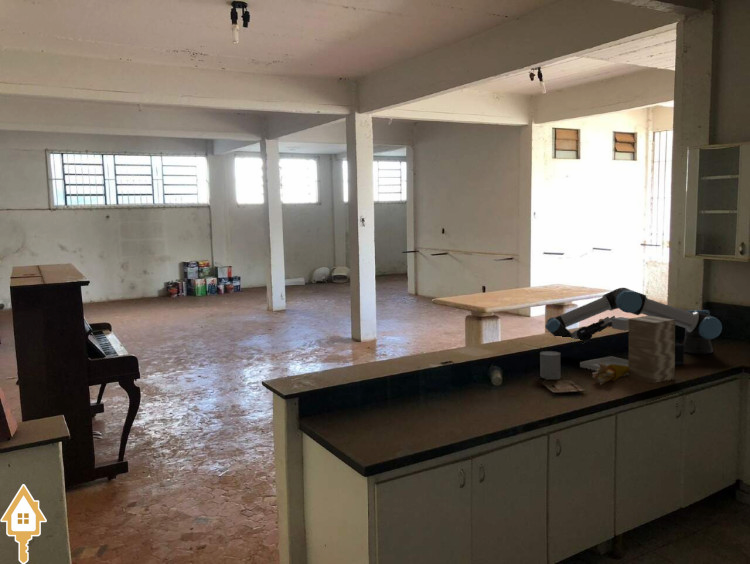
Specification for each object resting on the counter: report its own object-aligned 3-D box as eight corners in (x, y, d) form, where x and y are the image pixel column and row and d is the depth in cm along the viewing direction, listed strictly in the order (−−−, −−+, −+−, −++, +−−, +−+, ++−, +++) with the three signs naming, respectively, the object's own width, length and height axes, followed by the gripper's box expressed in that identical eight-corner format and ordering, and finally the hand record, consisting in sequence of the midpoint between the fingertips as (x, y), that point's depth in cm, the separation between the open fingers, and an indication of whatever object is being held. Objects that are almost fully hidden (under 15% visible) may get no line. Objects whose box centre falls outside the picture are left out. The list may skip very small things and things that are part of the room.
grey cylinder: (560, 381, 284) (560, 355, 283) (539, 380, 287) (539, 355, 286) (561, 376, 293) (560, 351, 292) (540, 375, 296) (540, 350, 295)
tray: (611, 360, 318) (611, 356, 318) (651, 370, 296) (651, 365, 296) (580, 366, 309) (580, 362, 308) (619, 377, 286) (619, 372, 286)
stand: (649, 372, 292) (649, 315, 290) (674, 378, 280) (675, 319, 277) (628, 376, 286) (628, 318, 283) (653, 383, 274) (654, 322, 271)
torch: (629, 383, 287) (598, 386, 272) (616, 372, 293) (585, 375, 278) (637, 369, 284) (607, 372, 269) (624, 359, 289) (593, 361, 275)
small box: (684, 365, 303) (685, 344, 302) (671, 365, 303) (671, 345, 302) (674, 360, 314) (674, 340, 313) (662, 361, 314) (662, 341, 313)
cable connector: (605, 324, 310) (605, 314, 309) (634, 330, 293) (634, 319, 293) (596, 326, 307) (596, 315, 306) (625, 331, 291) (625, 320, 290)
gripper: (596, 340, 323) (627, 323, 304) (572, 344, 316) (602, 327, 296) (590, 327, 326) (621, 310, 306) (567, 330, 318) (597, 313, 299)
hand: (612, 318), depth 301 cm, fingers closed on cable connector, 3 cm apart
